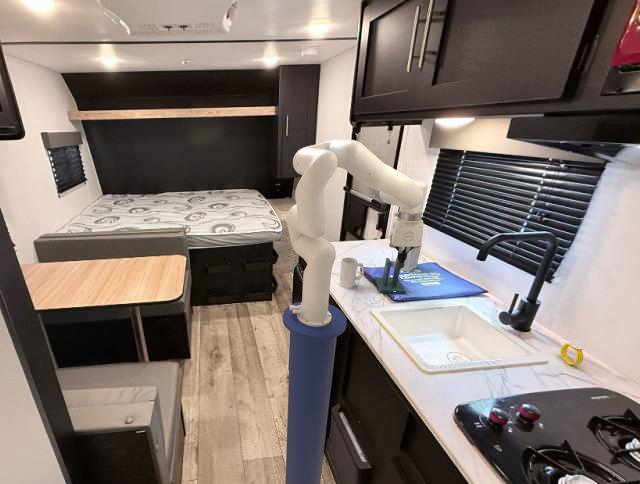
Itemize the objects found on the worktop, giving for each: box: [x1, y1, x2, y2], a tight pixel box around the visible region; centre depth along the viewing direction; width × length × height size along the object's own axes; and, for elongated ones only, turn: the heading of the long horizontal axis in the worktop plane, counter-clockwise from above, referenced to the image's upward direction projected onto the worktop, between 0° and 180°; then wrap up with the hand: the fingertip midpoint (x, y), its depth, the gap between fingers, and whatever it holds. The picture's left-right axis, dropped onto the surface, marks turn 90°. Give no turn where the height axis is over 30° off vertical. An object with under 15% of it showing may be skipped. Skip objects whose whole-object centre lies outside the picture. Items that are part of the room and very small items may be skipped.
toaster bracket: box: [373, 257, 406, 295], centre depth 134 cm, size 12×10×13 cm
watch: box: [560, 342, 584, 366], centre depth 91 cm, size 6×3×6 cm, turn 169°
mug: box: [339, 256, 365, 289], centre depth 137 cm, size 10×7×12 cm, turn 82°
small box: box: [400, 242, 423, 273], centre depth 150 cm, size 8×6×13 cm
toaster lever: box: [390, 260, 405, 269], centre depth 127 cm, size 12×3×3 cm, turn 169°
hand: (401, 261), depth 122 cm, fingers closed
